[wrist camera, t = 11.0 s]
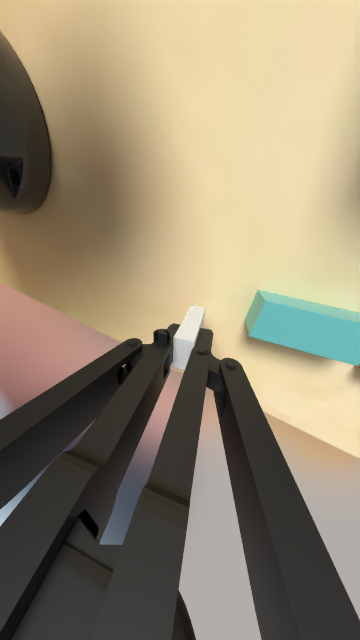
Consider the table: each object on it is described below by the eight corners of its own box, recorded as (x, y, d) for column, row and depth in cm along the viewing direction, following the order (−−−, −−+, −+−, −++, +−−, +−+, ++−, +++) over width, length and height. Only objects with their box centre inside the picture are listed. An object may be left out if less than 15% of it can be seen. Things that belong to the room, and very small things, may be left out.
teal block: (244, 319, 19) (248, 336, 16) (257, 289, 17) (265, 300, 14) (331, 341, 18) (357, 365, 14) (356, 311, 16) (393, 330, 12)
